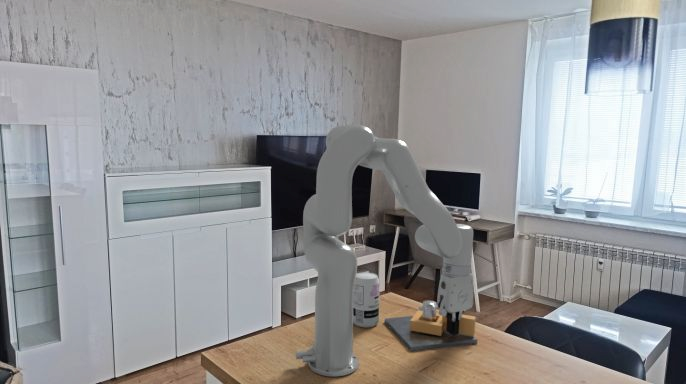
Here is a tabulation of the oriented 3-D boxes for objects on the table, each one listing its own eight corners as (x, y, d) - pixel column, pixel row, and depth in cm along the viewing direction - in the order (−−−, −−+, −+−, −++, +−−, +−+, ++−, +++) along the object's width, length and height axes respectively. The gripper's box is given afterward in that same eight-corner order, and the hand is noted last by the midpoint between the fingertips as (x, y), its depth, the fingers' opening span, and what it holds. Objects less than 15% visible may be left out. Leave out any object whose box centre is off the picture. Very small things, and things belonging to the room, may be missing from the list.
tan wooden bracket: (472, 341, 127) (473, 324, 126) (409, 330, 134) (410, 313, 133) (476, 329, 135) (477, 312, 135) (417, 319, 142) (418, 303, 141)
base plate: (411, 351, 124) (412, 319, 123) (384, 322, 143) (385, 294, 142) (482, 342, 130) (484, 311, 129) (448, 316, 149) (449, 288, 148)
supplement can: (353, 317, 147) (354, 271, 145) (379, 318, 146) (380, 272, 144) (350, 327, 139) (351, 279, 137) (377, 329, 138) (379, 280, 136)
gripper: (447, 276, 120) (443, 343, 122) (485, 269, 129) (480, 332, 131) (427, 268, 126) (423, 333, 129) (464, 262, 135) (460, 323, 137)
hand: (452, 332), depth 130 cm, fingers closed
